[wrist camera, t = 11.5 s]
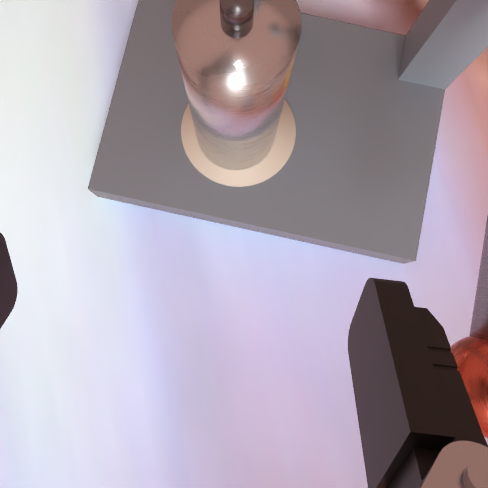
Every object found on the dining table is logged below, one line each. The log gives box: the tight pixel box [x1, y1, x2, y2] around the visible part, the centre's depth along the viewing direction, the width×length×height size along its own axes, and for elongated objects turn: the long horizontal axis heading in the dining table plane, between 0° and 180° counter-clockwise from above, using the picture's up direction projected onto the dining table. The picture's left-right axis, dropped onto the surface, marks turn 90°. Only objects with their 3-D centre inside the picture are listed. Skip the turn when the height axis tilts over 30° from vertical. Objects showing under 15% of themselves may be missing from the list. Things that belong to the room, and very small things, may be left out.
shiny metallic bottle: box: [172, 0, 301, 170], centre depth 22 cm, size 5×5×12 cm
